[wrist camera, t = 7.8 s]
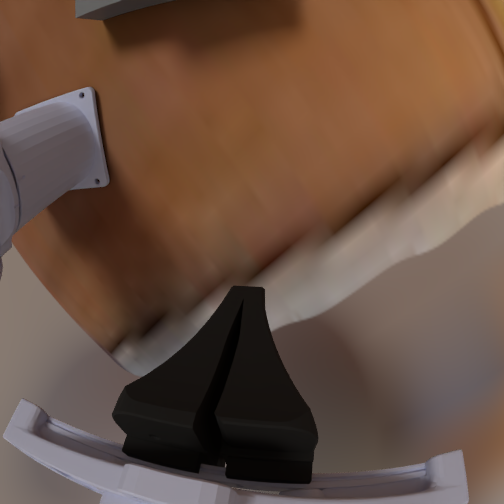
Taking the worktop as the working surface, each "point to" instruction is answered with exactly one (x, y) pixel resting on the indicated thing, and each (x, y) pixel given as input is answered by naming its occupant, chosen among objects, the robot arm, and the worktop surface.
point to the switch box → (110, 7)
